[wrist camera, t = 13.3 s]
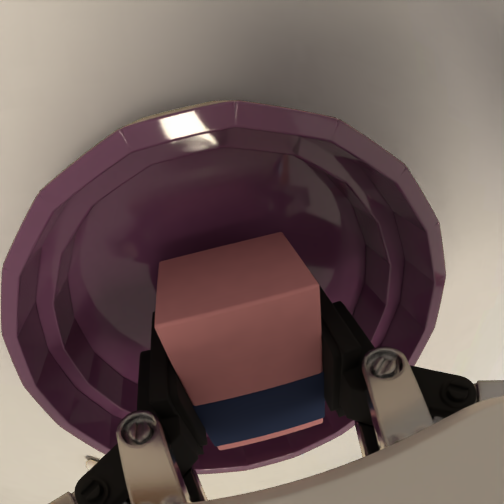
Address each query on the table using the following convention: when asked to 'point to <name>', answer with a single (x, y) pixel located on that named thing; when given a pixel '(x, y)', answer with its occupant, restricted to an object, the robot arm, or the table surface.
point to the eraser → (244, 338)
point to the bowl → (203, 238)
